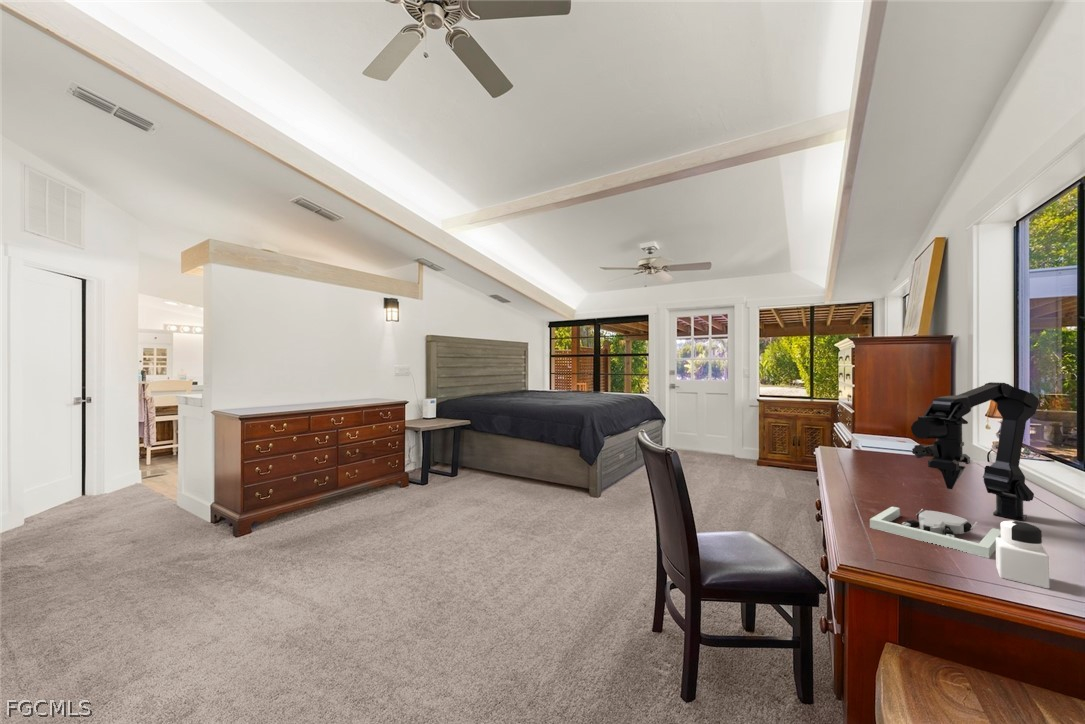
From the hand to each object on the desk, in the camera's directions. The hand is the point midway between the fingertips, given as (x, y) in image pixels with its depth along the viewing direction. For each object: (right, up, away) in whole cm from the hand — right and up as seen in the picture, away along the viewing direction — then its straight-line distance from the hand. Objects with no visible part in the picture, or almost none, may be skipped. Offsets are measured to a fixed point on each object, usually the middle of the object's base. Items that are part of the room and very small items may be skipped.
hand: (949, 488), depth 128 cm
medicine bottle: (-19, -9, -35) cm, 41 cm away
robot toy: (-13, -10, -10) cm, 20 cm away
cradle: (-15, -9, -11) cm, 21 cm away
